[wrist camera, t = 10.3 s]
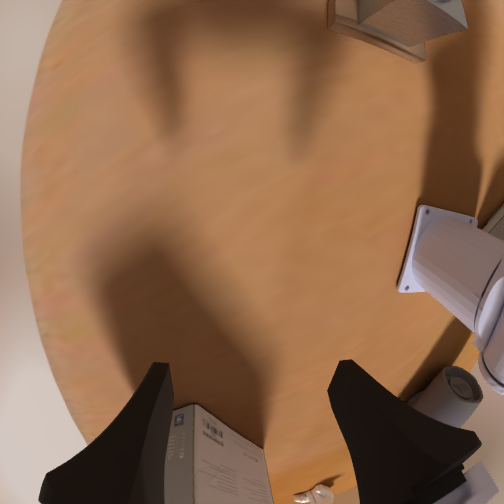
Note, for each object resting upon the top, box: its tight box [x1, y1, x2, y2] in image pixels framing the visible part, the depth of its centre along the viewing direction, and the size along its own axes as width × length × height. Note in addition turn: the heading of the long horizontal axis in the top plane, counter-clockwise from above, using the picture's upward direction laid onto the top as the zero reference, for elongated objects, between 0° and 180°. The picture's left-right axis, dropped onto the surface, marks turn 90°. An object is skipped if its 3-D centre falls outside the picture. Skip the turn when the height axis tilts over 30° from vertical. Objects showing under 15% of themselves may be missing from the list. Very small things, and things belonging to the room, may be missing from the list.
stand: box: [328, 0, 426, 63], centre depth 12 cm, size 8×9×2 cm
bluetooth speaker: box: [406, 366, 483, 428], centre depth 27 cm, size 23×9×10 cm, turn 165°
